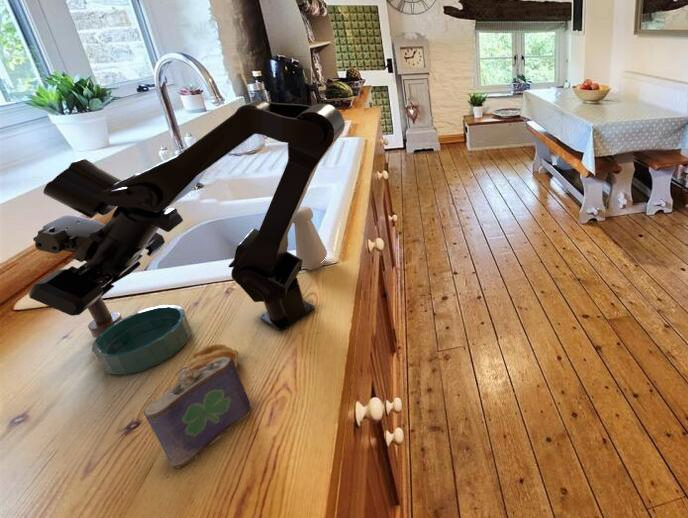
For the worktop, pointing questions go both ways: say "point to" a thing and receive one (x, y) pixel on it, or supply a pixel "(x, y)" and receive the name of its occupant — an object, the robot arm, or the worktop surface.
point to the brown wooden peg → (101, 317)
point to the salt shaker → (308, 240)
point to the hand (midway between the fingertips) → (82, 298)
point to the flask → (198, 410)
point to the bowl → (142, 339)
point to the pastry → (211, 356)
